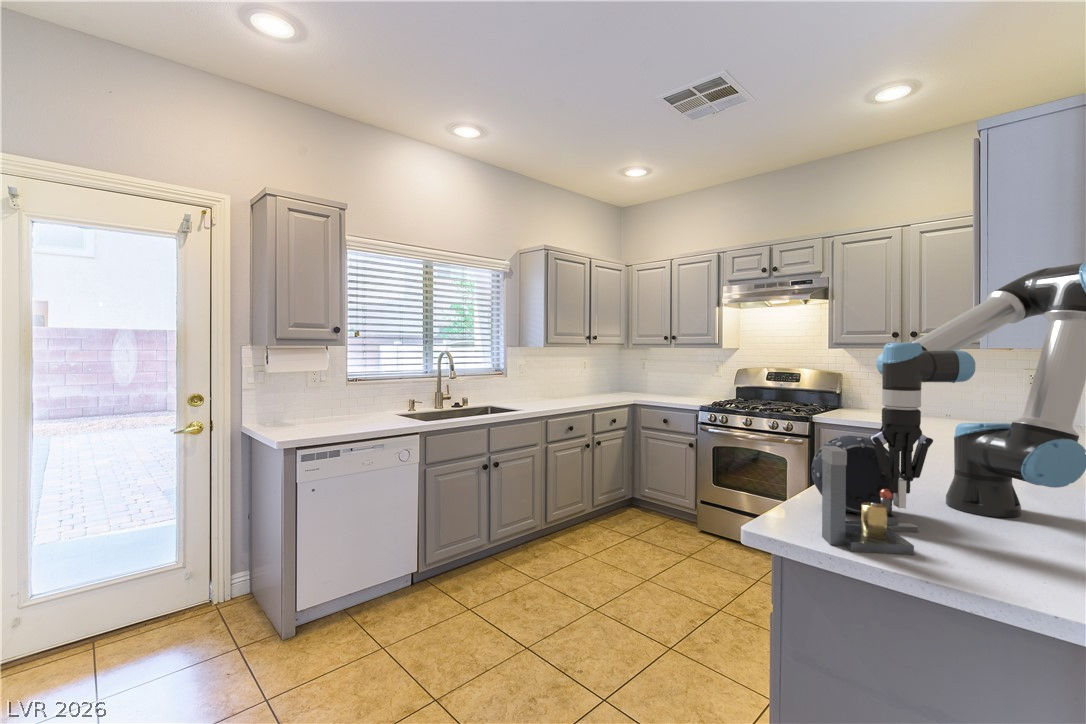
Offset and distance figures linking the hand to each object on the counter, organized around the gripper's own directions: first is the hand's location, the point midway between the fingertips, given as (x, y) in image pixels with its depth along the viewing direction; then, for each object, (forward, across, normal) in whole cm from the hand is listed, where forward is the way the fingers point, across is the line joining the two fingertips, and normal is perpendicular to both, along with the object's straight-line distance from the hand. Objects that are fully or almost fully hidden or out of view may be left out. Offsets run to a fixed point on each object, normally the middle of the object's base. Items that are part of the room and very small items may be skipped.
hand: (899, 506), depth 119 cm
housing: (+4, +10, +10) cm, 14 cm away
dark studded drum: (+6, +4, -13) cm, 15 cm away
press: (+6, +8, +7) cm, 12 cm away
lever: (+4, +3, 0) cm, 5 cm away
